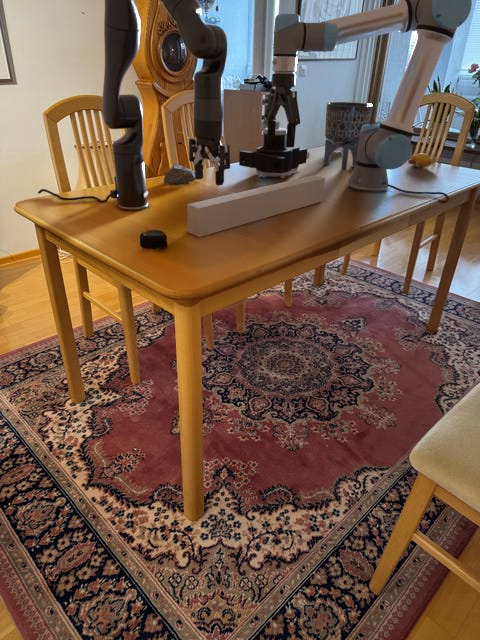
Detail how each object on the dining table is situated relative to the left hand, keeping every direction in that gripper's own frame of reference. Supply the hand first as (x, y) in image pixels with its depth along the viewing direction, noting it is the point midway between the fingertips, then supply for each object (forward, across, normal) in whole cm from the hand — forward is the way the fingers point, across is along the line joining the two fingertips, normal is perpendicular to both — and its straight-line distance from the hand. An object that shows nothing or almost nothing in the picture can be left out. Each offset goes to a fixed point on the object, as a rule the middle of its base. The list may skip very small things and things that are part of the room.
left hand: (209, 181), depth 124 cm
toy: (+14, -6, +135) cm, 136 cm away
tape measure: (+14, +2, -20) cm, 24 cm away
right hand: (-4, -12, +41) cm, 43 cm away
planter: (+14, -28, +104) cm, 108 cm away
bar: (+14, 0, +22) cm, 26 cm away
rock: (+14, -50, +27) cm, 59 cm away
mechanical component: (+14, -37, +71) cm, 81 cm away
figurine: (+14, -52, +136) cm, 147 cm away
